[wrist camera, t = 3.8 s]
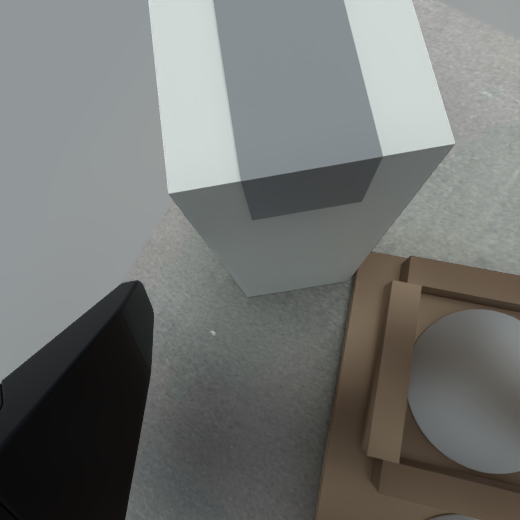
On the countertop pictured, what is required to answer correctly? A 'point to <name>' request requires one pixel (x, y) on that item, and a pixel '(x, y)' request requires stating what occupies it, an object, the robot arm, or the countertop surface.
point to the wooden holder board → (426, 396)
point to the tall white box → (295, 129)
